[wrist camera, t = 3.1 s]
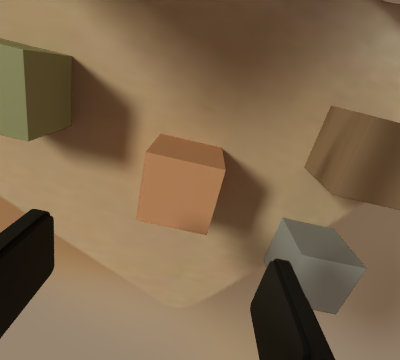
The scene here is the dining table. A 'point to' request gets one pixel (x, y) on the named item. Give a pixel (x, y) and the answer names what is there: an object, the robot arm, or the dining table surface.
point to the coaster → (393, 1)
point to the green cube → (33, 91)
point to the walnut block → (358, 157)
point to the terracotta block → (180, 184)
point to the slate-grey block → (317, 262)
